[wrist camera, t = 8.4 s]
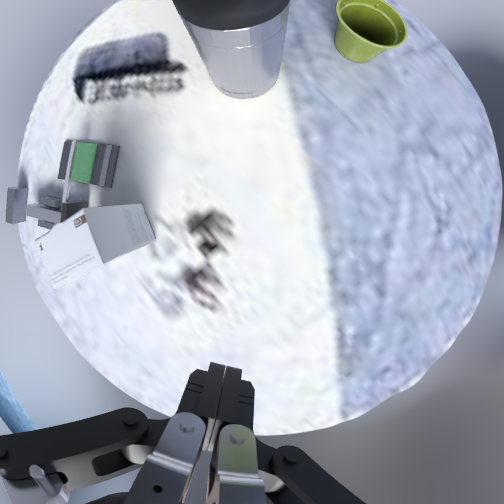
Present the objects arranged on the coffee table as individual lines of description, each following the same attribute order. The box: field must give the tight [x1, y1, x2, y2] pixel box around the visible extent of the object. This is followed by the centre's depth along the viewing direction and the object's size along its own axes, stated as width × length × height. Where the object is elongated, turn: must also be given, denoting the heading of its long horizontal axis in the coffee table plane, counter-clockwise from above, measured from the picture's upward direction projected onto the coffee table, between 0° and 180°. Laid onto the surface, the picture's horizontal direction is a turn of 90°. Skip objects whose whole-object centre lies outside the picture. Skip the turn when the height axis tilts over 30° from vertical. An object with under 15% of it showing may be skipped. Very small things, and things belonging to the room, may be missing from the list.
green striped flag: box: [6, 142, 120, 230], centre depth 33 cm, size 14×22×4 cm
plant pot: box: [335, 0, 408, 63], centre depth 25 cm, size 9×9×9 cm
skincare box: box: [35, 203, 156, 289], centre depth 29 cm, size 8×6×15 cm
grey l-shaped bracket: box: [27, 140, 88, 224], centre depth 32 cm, size 14×12×5 cm
